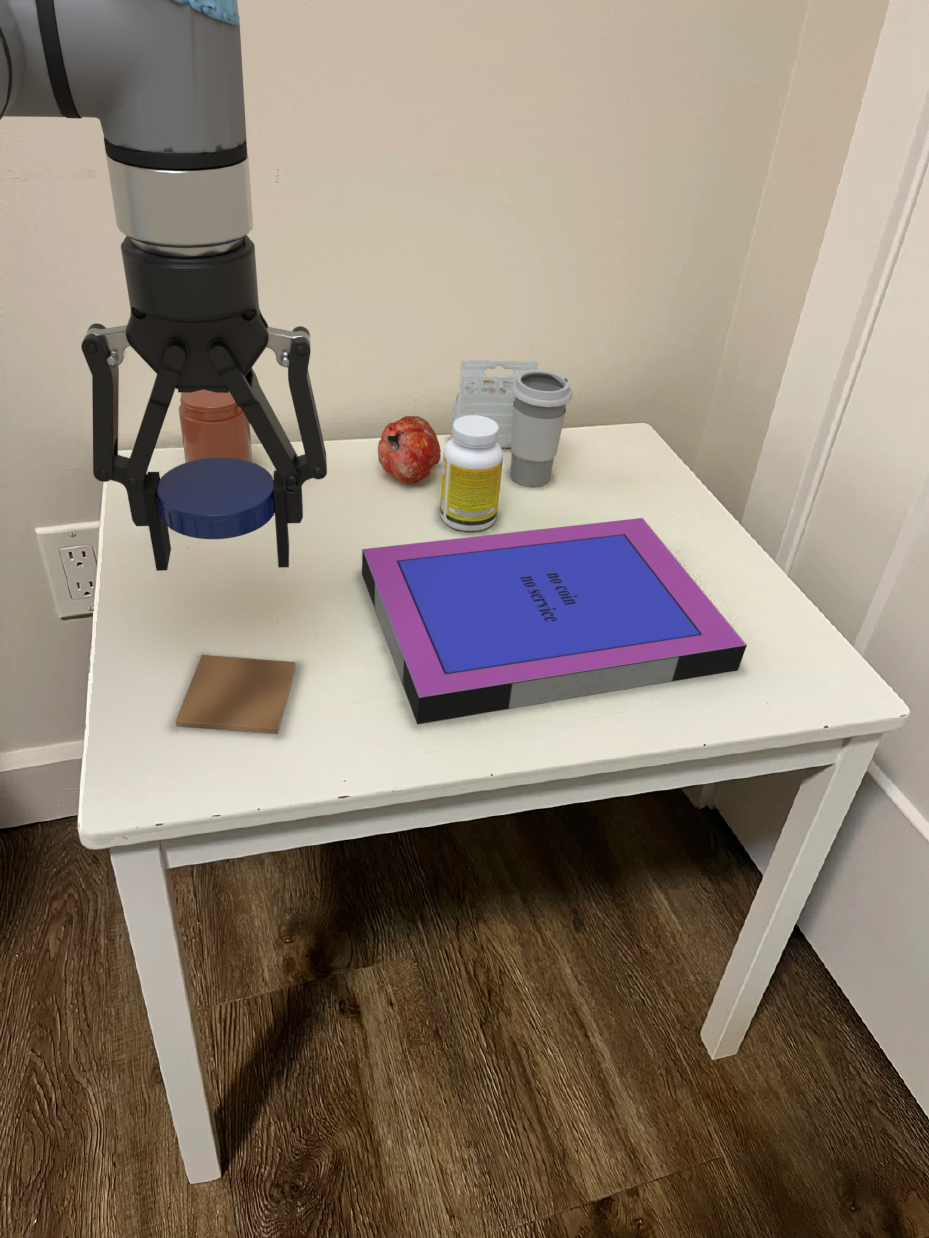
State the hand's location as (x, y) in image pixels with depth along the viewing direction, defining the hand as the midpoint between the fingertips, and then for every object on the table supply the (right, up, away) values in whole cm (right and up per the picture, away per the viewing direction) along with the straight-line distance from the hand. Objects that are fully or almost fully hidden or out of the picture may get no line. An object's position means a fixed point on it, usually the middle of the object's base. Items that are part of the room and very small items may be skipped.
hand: (224, 557), depth 67 cm
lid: (0, +4, -4) cm, 6 cm away
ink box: (+21, +17, +46) cm, 53 cm away
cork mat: (-1, -11, +8) cm, 14 cm away
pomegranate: (+11, +12, +38) cm, 42 cm away
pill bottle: (+18, +6, +32) cm, 37 cm away
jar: (-10, +12, +35) cm, 39 cm away
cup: (+25, +12, +40) cm, 49 cm away
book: (+25, -5, +19) cm, 32 cm away
